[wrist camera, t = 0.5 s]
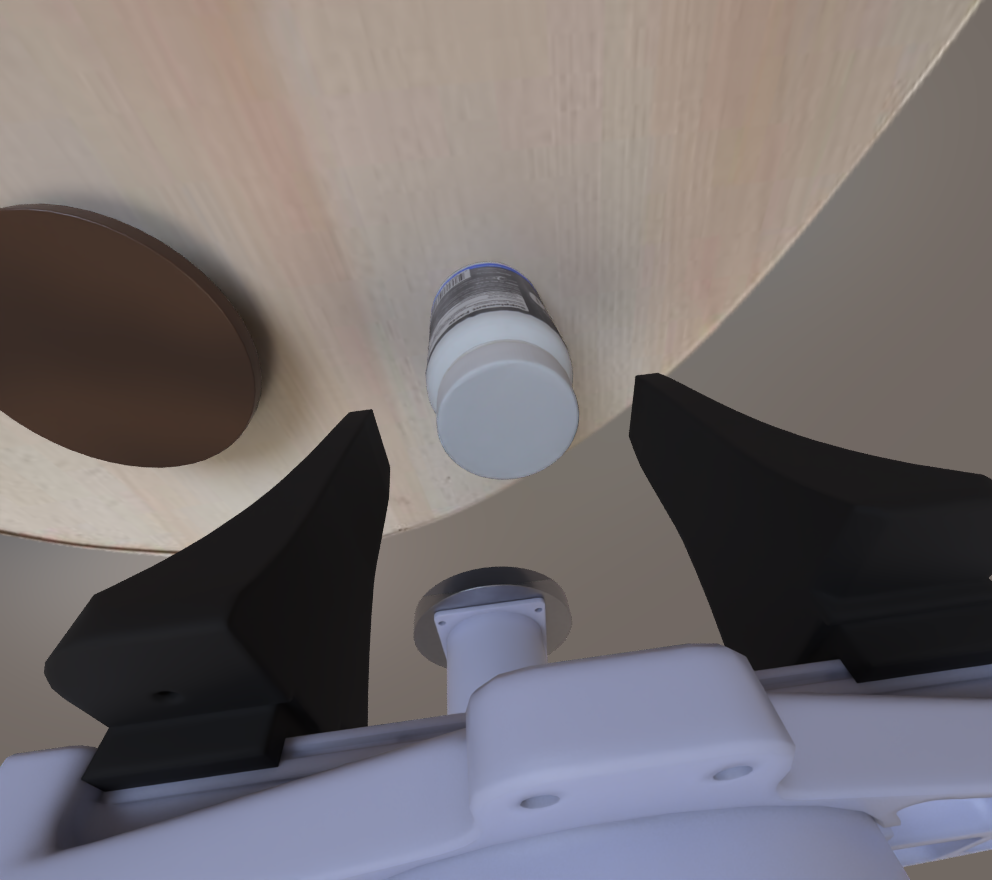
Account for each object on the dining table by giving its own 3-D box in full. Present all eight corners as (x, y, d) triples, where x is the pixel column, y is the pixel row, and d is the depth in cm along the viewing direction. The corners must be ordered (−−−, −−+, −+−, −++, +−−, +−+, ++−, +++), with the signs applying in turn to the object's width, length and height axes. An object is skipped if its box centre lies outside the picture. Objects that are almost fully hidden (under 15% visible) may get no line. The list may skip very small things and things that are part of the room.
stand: (308, 419, 21) (294, 452, 19) (96, 446, 21) (59, 482, 19) (207, 179, 15) (170, 189, 13) (-91, 213, 15) (-175, 228, 13)
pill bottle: (545, 355, 20) (596, 476, 14) (445, 375, 20) (445, 504, 14) (534, 247, 17) (591, 331, 11) (417, 270, 17) (400, 368, 11)
